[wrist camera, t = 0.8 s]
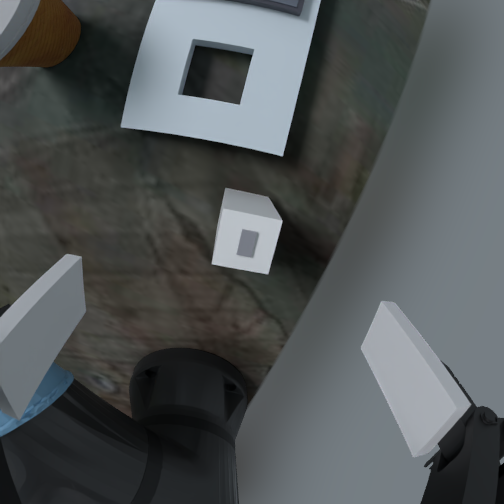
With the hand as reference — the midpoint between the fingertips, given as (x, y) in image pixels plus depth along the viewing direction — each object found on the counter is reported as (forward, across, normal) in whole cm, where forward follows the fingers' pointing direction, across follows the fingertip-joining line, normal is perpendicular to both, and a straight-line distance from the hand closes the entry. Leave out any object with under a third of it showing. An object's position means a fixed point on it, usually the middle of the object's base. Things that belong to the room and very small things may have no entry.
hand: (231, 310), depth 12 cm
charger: (+17, -1, 0) cm, 17 cm away
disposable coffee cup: (+17, +22, -16) cm, 31 cm away
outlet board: (+17, +3, -17) cm, 24 cm away
